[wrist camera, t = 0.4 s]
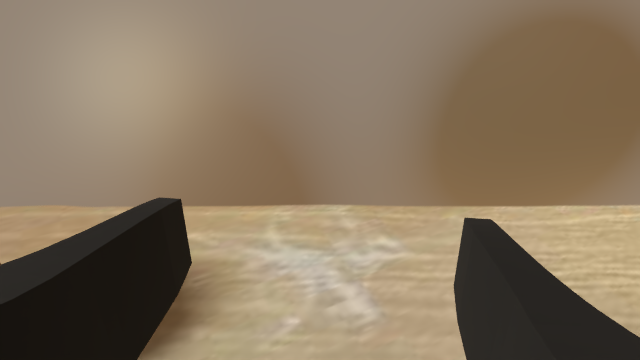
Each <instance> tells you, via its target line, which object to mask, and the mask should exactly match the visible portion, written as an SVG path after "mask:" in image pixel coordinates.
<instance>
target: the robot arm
mask: <svg viewBox="0 0 640 360" xmlns="http://www.w3.org/2000/svg"><path fill="white" fill-rule="evenodd" d="M191 263H192V261H191V255H190V249H189V244H188V238H187V232H186V226H185V220H184V214H183V208H182V203H181V199H171V198H157V199H154V200H151V201H148V202H146V203H143V204H141V205H139V206H137V207H134V208H132V209H130V210H128V211H126V212H123V213H121V214H119V215H117V216H115V217H113V218H111V219H109V220H106V221H104V222H102V223H100V224H98V225H96V226H94V227H92V228H90V229H87V230H85V231H83V232H81V233H78V234H76V235H74V236H72V237H69V238H67V239H65V240H62V241H60V242H58V243H55V244H53V245H51V246H49V247H46V248H44V249H41V250H39V251H37V252H34V253H31V254H29V255H26V256H24V257H21V258H18V259H15V260H13V261H10V262H7V263H4V264H1V265H0V360H137V359H138V357H139V355H140V354H141V352H142V351H143V349H144V348H145V346H146V344H147V343H148V341H149V340H150V338H151V337H152V335H153V333H154V332H155V330H156V329H157V327H158V326H159V324H160V322H161V321H162V319H163V318H164V316H165V315H166V313H167V311H168V310H169V308H170V306H171V305H172V303H173V302H174V300H175V298H176V297H177V295H178V293H179V291H180V289H181V286H182V284H183V282H184V280H185V278H186V275H187V273H188V271H189V268H190V266H191ZM454 293H455V303H456V312H457V321H458V326H459V330H460V334H461V338H462V343H463V347H464V351H465V355H466V359H467V360H640V337H638V336H636V335H635V334H633V333H632V332H630V331H628V330H627V329H625V328H624V327H623V326H621V325H620V324H618V323H617V322H615V321H614V320H612V319H611V318H609V317H608V316H606V315H605V314H603V313H602V312H600V311H599V310H597V309H596V308H595V307H593V306H592V305H591V304H589V303H588V302H586V301H585V300H584V299H582V298H581V297H580V296H579V295H577V294H576V293H575V292H573V291H572V290H571V289H570V288H568V287H567V286H566V285H565V284H563V283H562V282H561V281H559V280H558V279H557V278H556V277H555V276H553V275H552V274H551V273H550V272H549V271H547V270H546V269H545V268H544V267H543V266H542V265H541V264H539V263H538V262H537V261H536V260H535V259H534V258H533V257H532V256H530V255H529V254H528V253H527V252H526V251H525V250H524V249H523V248H522V247H521V246H520V245H519V244H517V243H516V242H515V241H514V240H513V239H512V238H511V237H510V236H509V235H508V234H507V233H506V232H505V231H504V230H502V229H501V228H500V227H499V226H498V225H497V224H496V223H495V222H494V221H492V220H491V219H476V218H465V219H464V225H463V231H462V237H461V243H460V250H459V256H458V262H457V268H456V274H455V281H454Z"/></svg>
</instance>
